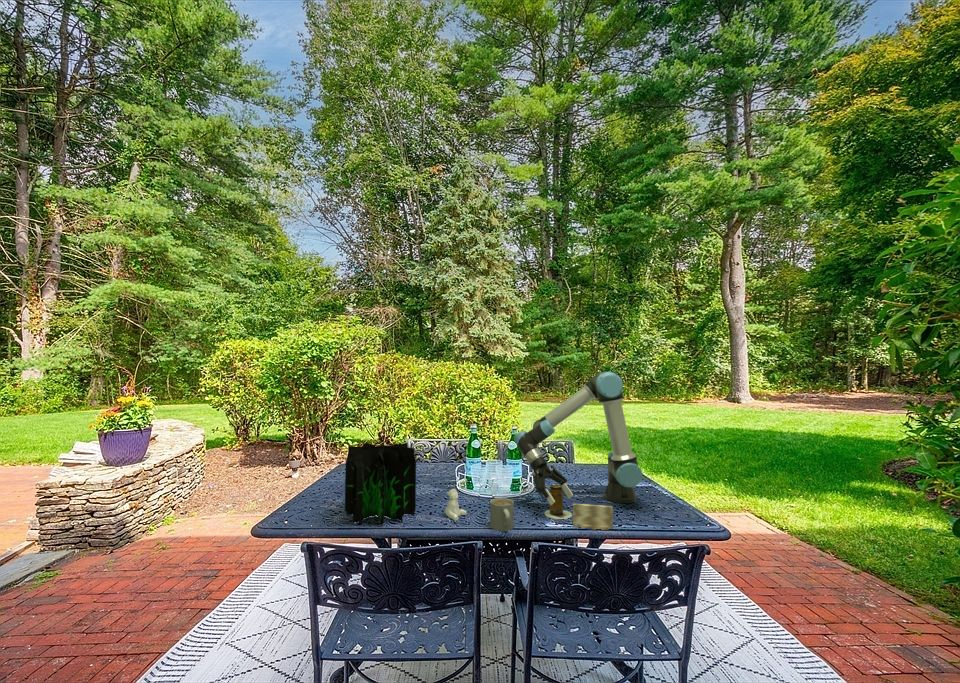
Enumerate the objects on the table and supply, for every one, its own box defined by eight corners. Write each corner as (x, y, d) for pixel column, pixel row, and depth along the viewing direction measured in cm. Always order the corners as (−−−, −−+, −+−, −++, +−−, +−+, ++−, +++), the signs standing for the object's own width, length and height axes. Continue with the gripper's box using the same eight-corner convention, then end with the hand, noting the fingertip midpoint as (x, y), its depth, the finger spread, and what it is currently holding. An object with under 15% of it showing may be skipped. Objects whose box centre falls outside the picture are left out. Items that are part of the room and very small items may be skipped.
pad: (555, 508, 204) (555, 507, 204) (577, 515, 195) (577, 514, 195) (539, 514, 196) (539, 513, 196) (561, 521, 187) (561, 520, 187)
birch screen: (573, 527, 180) (572, 505, 181) (573, 524, 184) (572, 502, 184) (613, 530, 177) (612, 508, 177) (612, 527, 181) (612, 505, 181)
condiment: (554, 509, 201) (554, 483, 201) (570, 514, 195) (570, 487, 195) (545, 513, 195) (545, 486, 196) (561, 518, 189) (561, 490, 190)
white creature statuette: (456, 521, 186) (456, 493, 187) (439, 518, 191) (440, 490, 191) (467, 515, 195) (467, 487, 195) (451, 511, 199) (451, 485, 199)
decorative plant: (358, 532, 175) (359, 456, 176) (339, 510, 200) (340, 444, 201) (423, 518, 190) (424, 449, 191) (398, 500, 215) (399, 439, 217)
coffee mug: (489, 521, 186) (489, 498, 187) (512, 521, 187) (512, 497, 187) (491, 534, 173) (491, 508, 173) (516, 533, 173) (516, 508, 174)
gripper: (548, 461, 216) (573, 498, 204) (514, 469, 199) (539, 511, 187) (556, 452, 212) (583, 489, 201) (522, 459, 195) (549, 501, 184)
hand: (562, 500), depth 194 cm, fingers open, 13 cm apart
